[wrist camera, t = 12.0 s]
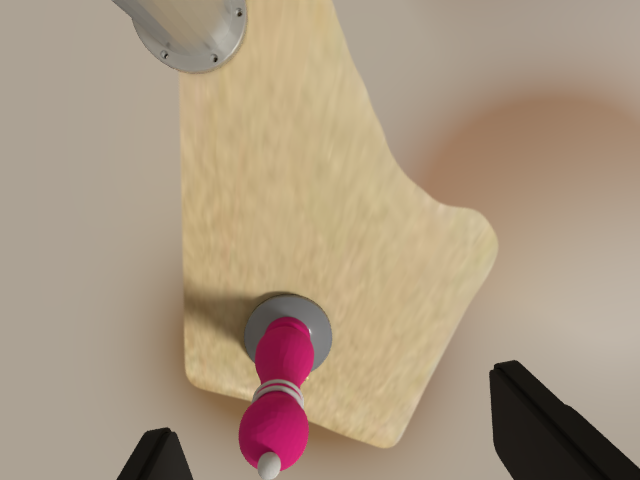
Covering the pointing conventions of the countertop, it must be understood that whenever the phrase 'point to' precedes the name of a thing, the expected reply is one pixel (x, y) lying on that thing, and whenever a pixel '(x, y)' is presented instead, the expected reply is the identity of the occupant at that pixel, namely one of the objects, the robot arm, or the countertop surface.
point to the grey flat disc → (297, 309)
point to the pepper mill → (278, 399)
